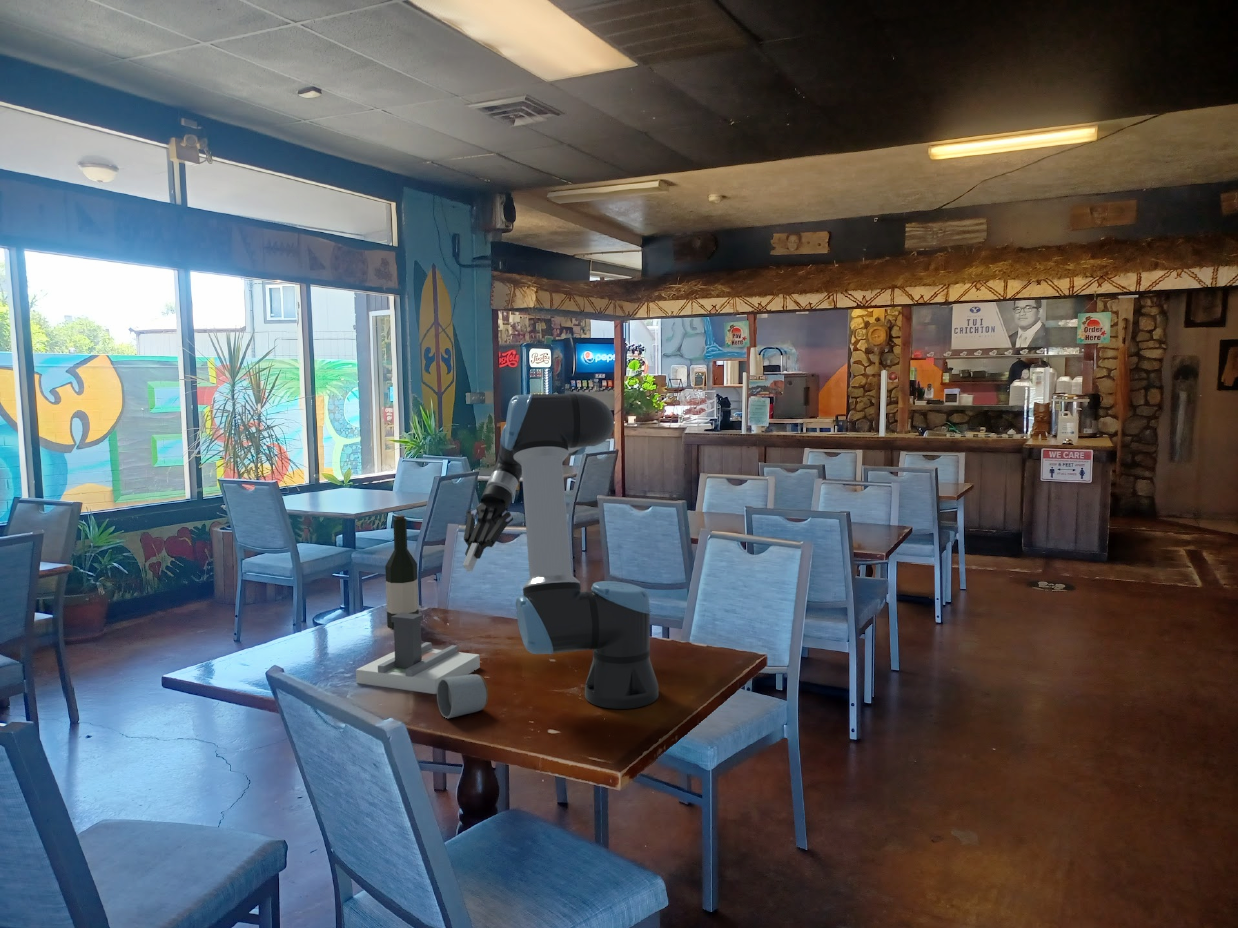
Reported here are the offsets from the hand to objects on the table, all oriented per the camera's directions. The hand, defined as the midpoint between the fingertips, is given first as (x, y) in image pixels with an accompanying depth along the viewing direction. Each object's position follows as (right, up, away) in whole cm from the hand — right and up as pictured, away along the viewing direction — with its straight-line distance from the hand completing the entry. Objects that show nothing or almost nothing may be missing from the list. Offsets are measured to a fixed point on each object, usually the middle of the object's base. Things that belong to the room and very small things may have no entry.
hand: (467, 567), depth 202 cm
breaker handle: (-9, -19, -22) cm, 30 cm away
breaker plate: (-7, -22, -18) cm, 29 cm away
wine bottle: (-22, -19, +23) cm, 37 cm away
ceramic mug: (+6, -24, -39) cm, 46 cm away
